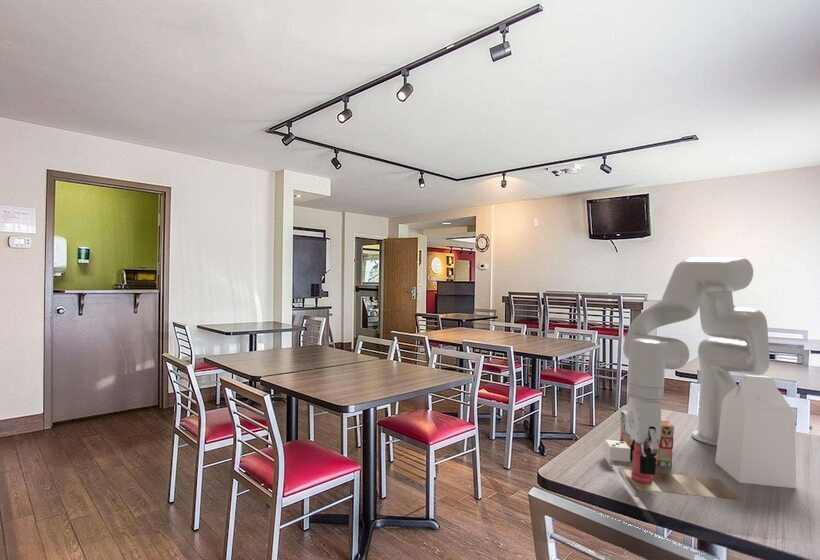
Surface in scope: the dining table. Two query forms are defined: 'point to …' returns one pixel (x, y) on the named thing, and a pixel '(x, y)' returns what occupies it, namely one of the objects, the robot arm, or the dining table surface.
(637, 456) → the pawn
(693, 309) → the robot arm
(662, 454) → the stack of blocks
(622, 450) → the die
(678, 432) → the dining table surface
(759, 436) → the milk
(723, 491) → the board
